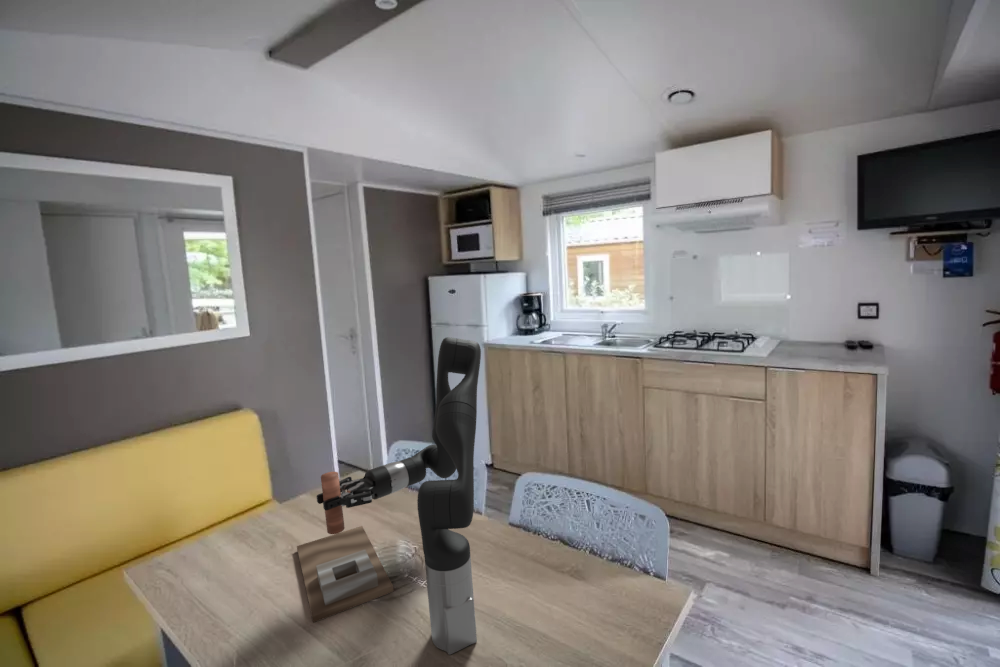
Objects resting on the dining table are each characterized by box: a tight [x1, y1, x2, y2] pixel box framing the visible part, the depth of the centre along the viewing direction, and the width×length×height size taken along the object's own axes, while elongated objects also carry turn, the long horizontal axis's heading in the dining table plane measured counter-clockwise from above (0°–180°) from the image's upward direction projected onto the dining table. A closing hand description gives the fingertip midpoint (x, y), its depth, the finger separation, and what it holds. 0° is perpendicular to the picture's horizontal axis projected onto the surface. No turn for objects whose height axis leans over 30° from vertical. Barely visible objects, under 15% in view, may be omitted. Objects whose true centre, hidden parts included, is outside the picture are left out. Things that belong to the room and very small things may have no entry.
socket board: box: [296, 525, 394, 623], centre depth 121 cm, size 32×18×4 cm, turn 29°
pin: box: [320, 471, 346, 535], centre depth 114 cm, size 4×4×14 cm
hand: (320, 502), depth 112 cm, fingers closed on pin, 4 cm apart
